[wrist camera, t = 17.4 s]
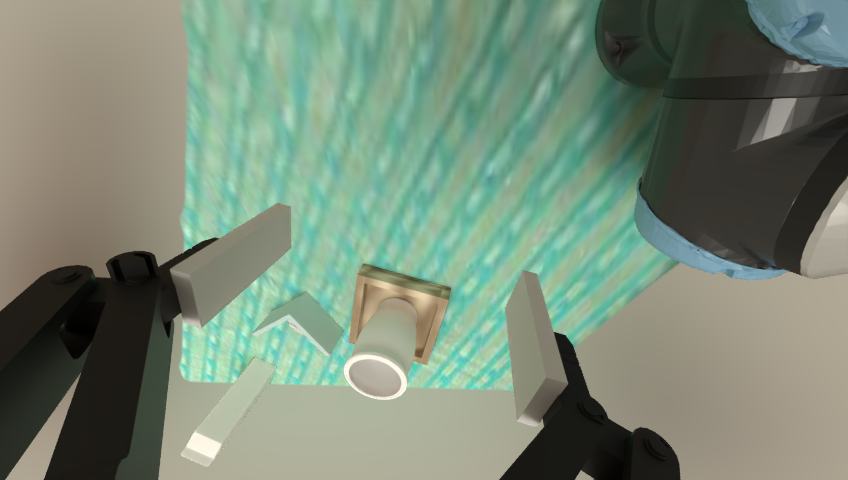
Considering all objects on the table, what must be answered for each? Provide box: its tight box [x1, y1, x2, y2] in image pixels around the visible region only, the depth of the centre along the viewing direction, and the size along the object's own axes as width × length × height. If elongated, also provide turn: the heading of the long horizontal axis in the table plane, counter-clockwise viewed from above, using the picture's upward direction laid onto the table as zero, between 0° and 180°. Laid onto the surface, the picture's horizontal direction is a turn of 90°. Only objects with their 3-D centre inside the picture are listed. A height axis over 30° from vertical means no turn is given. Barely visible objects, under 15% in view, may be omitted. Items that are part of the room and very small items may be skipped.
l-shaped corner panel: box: [252, 292, 344, 357], centre depth 64 cm, size 12×12×8 cm
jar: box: [344, 298, 418, 400], centre depth 54 cm, size 11×10×15 cm
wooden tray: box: [349, 264, 451, 365], centre depth 60 cm, size 17×18×4 cm
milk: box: [181, 357, 276, 467], centre depth 69 cm, size 6×6×22 cm
